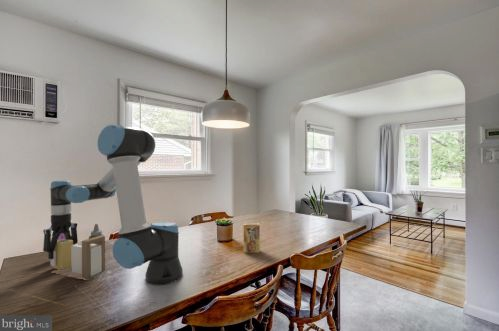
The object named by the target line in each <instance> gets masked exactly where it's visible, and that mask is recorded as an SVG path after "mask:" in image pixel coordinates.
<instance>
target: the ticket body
mask: <svg viewBox="0 0 499 331" xmlns="http://www.w3.org/2000/svg"><path fill="white" fill-rule="evenodd" d="M96 242H97V244H93V243H96ZM105 250H106V235H104V236H97V237H94V238H90V239H89V238H87V239H84V240H81V241H80V242H77V244H73V245H72V246H71V267H72V272H73V273H78V274H82V277H83V278H89V277H91V276H93V275H96V274H98V273H100V272H102V271H104V270H105V268H106V251H105Z"/></svg>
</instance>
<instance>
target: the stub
mask: <svg viewBox="0 0 499 331" xmlns="http://www.w3.org/2000/svg"><path fill="white" fill-rule="evenodd" d="M72 245H73V240H68V239H62V240H59V241H58V240H57V243H56V246H55V250H54V251H56V266H52V268H53V269H60V270H63V269H66V268H68V267H71V246H72Z"/></svg>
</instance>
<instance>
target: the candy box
mask: <svg viewBox="0 0 499 331" xmlns="http://www.w3.org/2000/svg"><path fill="white" fill-rule="evenodd" d="M260 228H261V227H260V223H259V222H257V223H249V222H248V223H243V253H260V244H261V242H260V235H261V234H260V233H261V232H260V231H261V229H260Z"/></svg>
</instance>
